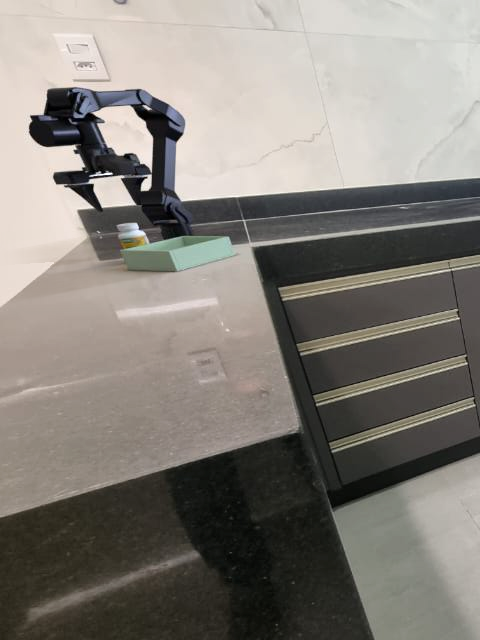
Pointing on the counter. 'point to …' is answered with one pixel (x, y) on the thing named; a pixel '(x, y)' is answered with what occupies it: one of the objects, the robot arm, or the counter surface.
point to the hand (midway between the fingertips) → (120, 208)
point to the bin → (177, 253)
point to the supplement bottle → (131, 235)
